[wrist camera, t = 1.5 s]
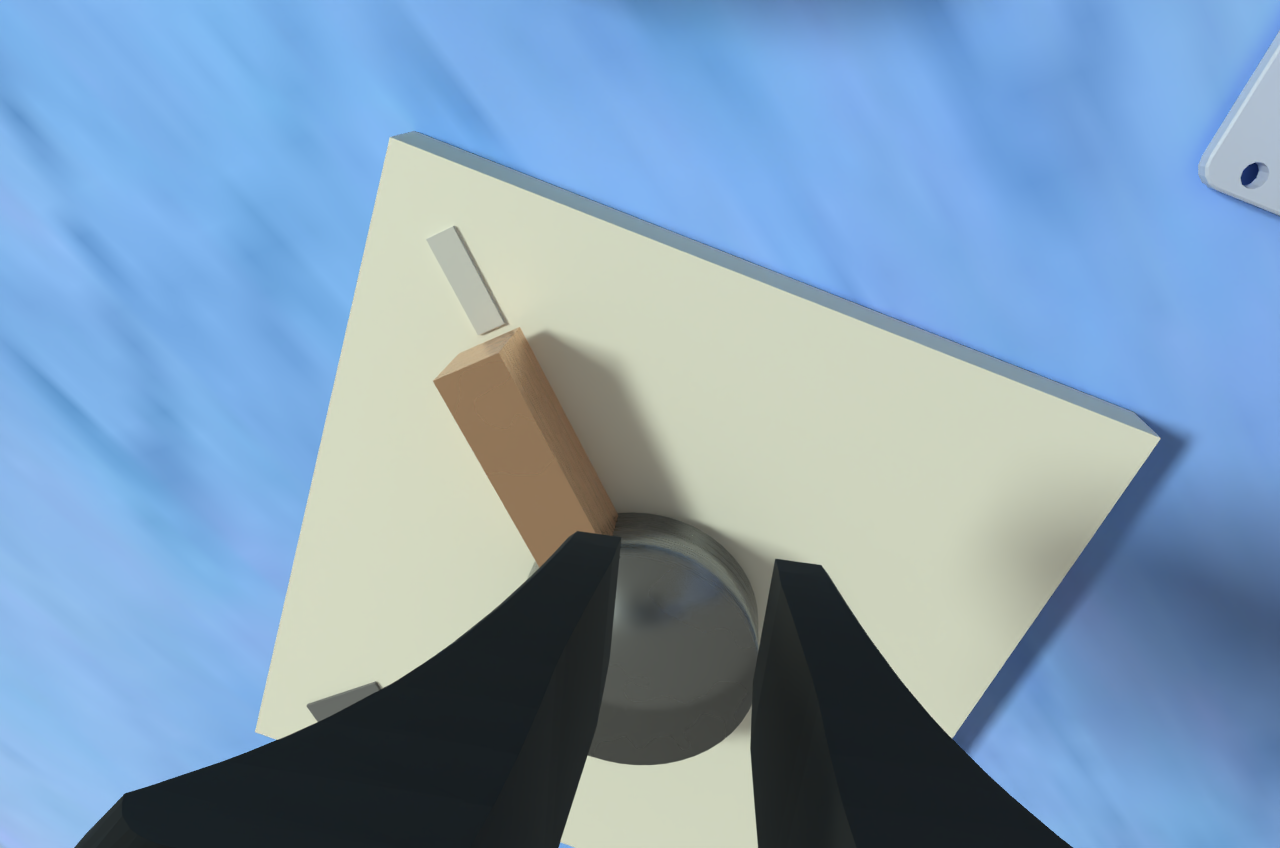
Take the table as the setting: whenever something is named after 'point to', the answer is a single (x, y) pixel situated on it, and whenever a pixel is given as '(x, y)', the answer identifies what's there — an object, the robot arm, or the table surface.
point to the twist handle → (648, 565)
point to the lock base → (674, 462)
